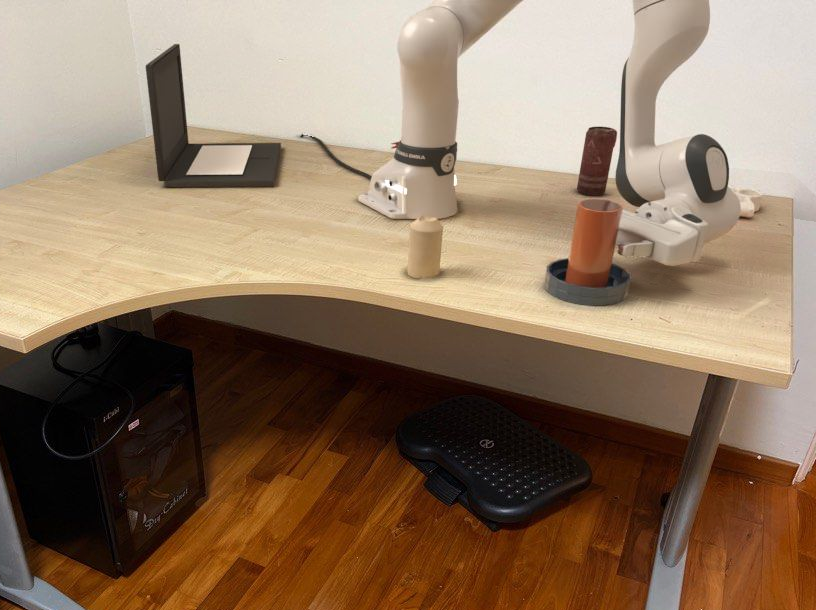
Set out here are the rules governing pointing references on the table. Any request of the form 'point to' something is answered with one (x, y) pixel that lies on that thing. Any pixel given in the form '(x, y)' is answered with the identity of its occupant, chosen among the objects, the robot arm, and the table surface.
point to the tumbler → (593, 242)
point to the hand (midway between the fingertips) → (598, 241)
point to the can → (596, 160)
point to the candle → (425, 247)
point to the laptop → (198, 161)
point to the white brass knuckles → (748, 200)
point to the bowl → (586, 295)
